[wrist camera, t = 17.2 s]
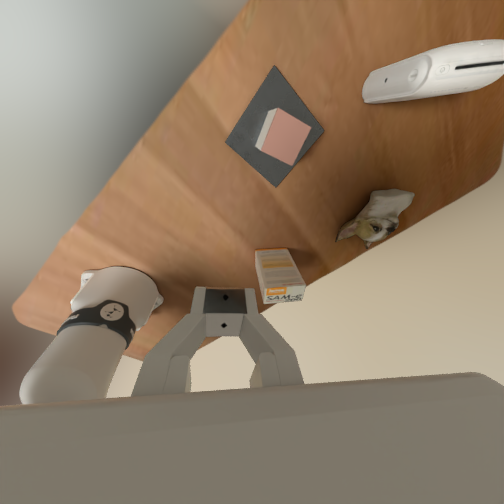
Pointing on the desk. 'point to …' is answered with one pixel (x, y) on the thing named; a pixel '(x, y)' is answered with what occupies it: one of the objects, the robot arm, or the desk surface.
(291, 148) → the pink and white block
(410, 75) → the photo printer
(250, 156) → the grey square base plate
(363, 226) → the ceramic sculpture
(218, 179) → the desk surface
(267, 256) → the supplement box
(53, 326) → the desk surface
